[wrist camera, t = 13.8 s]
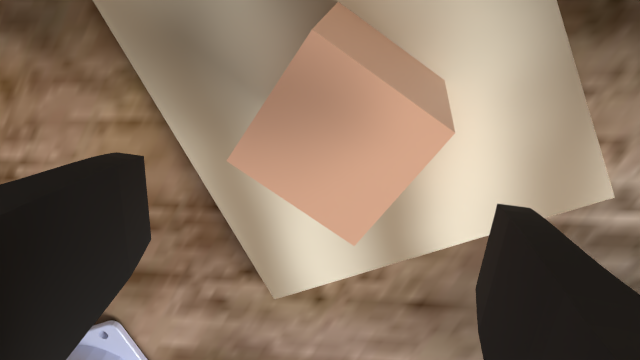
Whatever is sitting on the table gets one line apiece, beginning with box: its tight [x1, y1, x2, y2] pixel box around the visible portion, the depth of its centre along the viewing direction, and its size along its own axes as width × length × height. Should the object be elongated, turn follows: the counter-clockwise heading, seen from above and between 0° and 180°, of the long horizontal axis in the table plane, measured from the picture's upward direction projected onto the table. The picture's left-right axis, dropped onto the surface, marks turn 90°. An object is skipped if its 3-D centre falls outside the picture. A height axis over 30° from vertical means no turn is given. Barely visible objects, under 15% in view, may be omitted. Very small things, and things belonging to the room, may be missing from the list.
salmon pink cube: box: [227, 2, 455, 246], centre depth 16 cm, size 4×4×5 cm
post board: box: [93, 0, 615, 299], centre depth 18 cm, size 14×14×4 cm
